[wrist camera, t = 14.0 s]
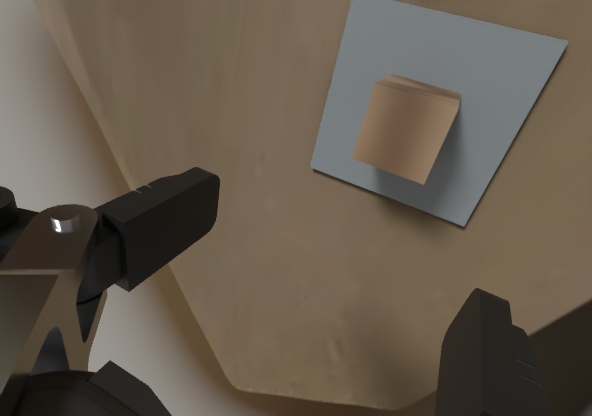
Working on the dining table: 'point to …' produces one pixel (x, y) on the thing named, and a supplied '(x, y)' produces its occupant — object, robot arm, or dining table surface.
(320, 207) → the dining table surface
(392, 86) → the walnut block
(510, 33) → the mat
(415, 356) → the dining table surface
